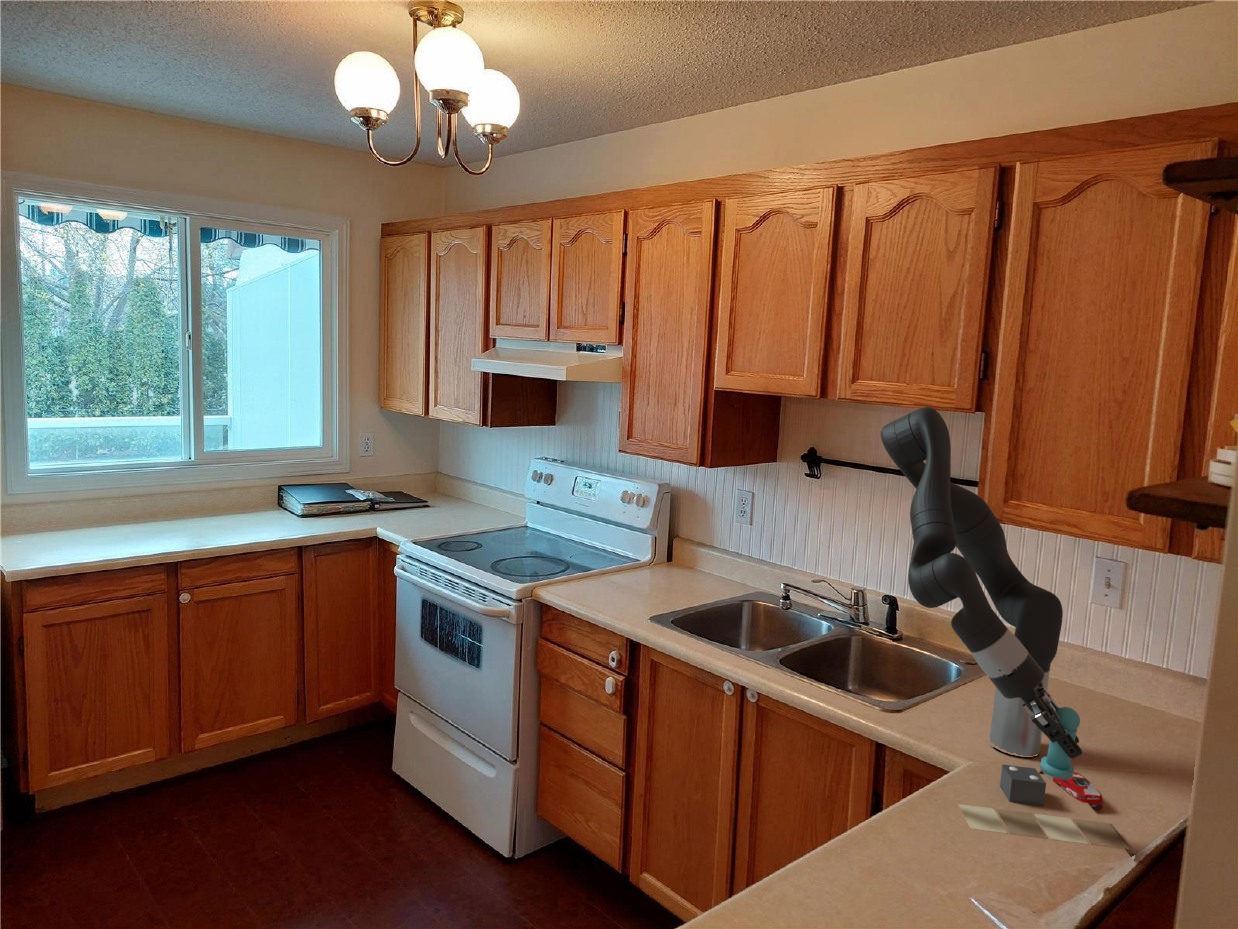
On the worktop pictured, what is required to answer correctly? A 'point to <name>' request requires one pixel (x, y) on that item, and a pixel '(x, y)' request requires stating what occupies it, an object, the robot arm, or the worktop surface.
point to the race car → (1079, 789)
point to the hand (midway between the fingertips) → (1075, 749)
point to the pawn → (1056, 757)
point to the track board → (1044, 827)
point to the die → (1022, 785)
